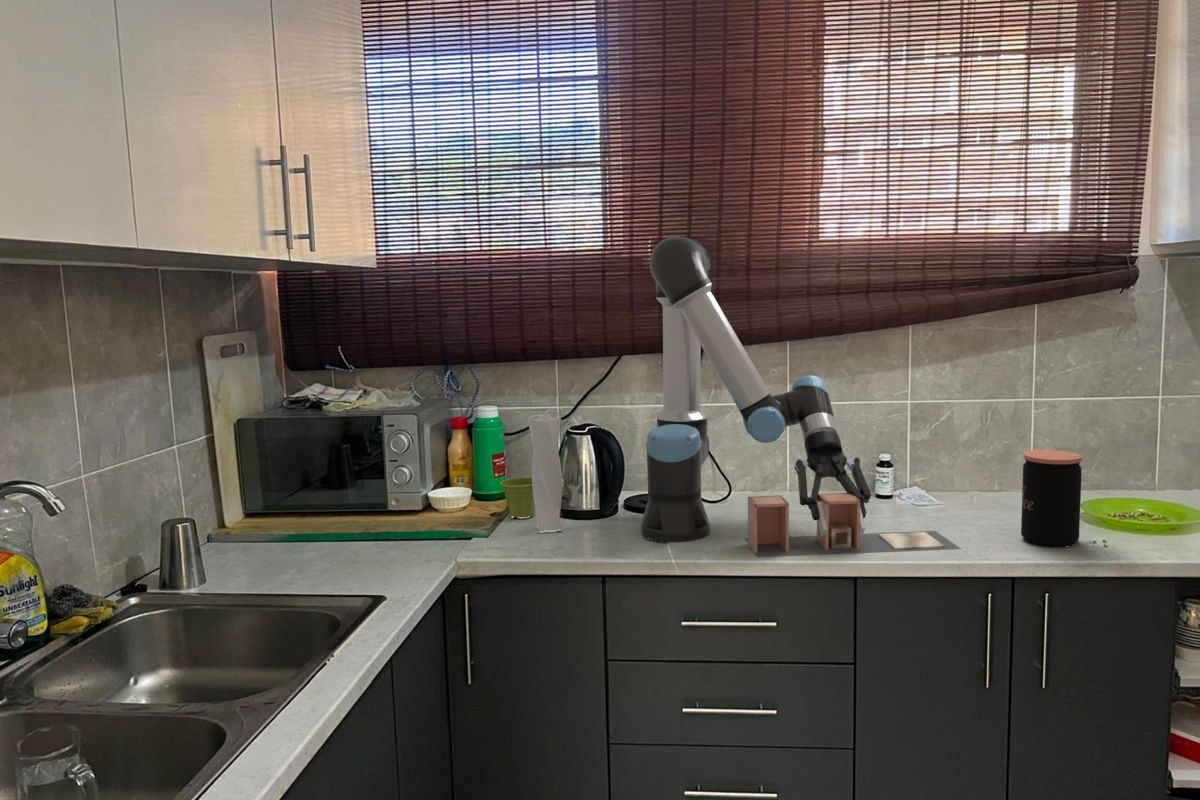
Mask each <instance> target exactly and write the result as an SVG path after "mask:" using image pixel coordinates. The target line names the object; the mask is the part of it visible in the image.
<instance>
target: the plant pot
mask: <svg viewBox="0 0 1200 800" xmlns="http://www.w3.org/2000/svg"><path fill="white" fill-rule="evenodd" d="M500 485H501V487H502V489H503V492H504V496H505V500H506V501H505V502H506V505H507V506H508V507H509V512H508V516H509V515H511V516H514V517H528V516H532V515H534V514H535V515H536V512H535V505H534V497H533V487H532V477H514V478H508V479H504V480H502V481H500ZM508 507H507V508H508ZM535 515H534V516H535ZM532 517H533V516H532Z"/></svg>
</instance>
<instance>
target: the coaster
mask: <svg viewBox="0 0 1200 800" xmlns="http://www.w3.org/2000/svg"><path fill="white" fill-rule="evenodd" d="M914 532H915V533H892V532H889V533H890V534H878V536H879V537H880V538H881V539H883V540H884V541H885V542H886V543H887V544H889V545H890V546H891V547H892V548H893V549H895V550H905V549H929V548H944V547H945V546H944V545H942V544H941V543H940V542H938V541H937V540H935V539H934V538H933V537H931V536H930V535H928V534H927V533H925V532H917V531H914Z"/></svg>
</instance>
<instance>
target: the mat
mask: <svg viewBox="0 0 1200 800" xmlns="http://www.w3.org/2000/svg"><path fill="white" fill-rule="evenodd" d="M915 532H925V533H927V534H928V535H930V536H931V537H933V538H934V539H935V540H937V541H938V542H940V543H941V544H942V545H944V546H945V547H944V548H929V549H905V550H895V549H893V548H892V547H891V546H890V545H889V544H887V543H886V542H885V541H884V540H883V539H881V538H880V537H879V536H878V534H890V533H915ZM744 541H746V543H747V544H748V537H746V538H744ZM943 550H945V551H948V550H962V548H961V547H959V546H958V545H956V544H955V543H954V542H952V541H951V540H949V539H948V538H947V537H945V536H944V535H942V534H940V533H939V532H938V531H936V530H921V531H918V530H917V531H895V532H894V531H893V532H873V533H872V532H871V533H867V532H866V533H863V535H860V549H857V548H856V547H855V546H854V545H853V544H852V543H851V547H849V548H831V547H830V546H829V550H825V549H824V548H823V547H822V546H821V544H820V543H819V542H818V541H817V535H796V536H789V552H786V551H785V550H784V549H783V547H782V546H781V545H780V543H771V544H757V553H754V555H755V556H756V557H757V558H772V557H773V558H774V557H778V558H779V557H799V556H800V557H801V556H803V557H804V556H821V555H822V556H823V555H827V556H828V555H845V554H846V555H851V554H869V553H871V554H874V553H896V552H918V551H919V552H920V551H923V552H925V551H943Z"/></svg>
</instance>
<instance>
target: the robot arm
mask: <svg viewBox="0 0 1200 800" xmlns="http://www.w3.org/2000/svg"><path fill="white" fill-rule="evenodd" d="M710 263H711V262H710V258H709V255H708V252H707V251H706V249H705V248H704V247H703V246H702V245H701V243H699V242H698V241H697V240H694V239H692V238H688V237H683V236H678V235H677V236H670V237H667V238H665V239H663V240H661V241H660V242H659V243H657V245H656V246H655V247H654V249H653V250H652V252H651V255H650V259H649V268H650V273H651V276H652V278H653V279H654V281H655V290H656V291H655V292H656V294H655V297H656V298H655V299H656V300H657V301H658V302H659V303H660V304H661V306H662V350H663V351H662V355H663V356H662V361H663V362H662V365H663V366H662V370H663V371H662V375H663V376H662V380H663V381H662V382H663V383H662V386H663V387H662V388H663V389H662V390H663V395H662V398H663V399H662V400H663V403H662V404H663V406H662V407H663V408H662V410H661V412H659V414H658V415H657V416H656V427H654V428H652V429H650V431H649V432H648V433H647V436H646V443H645V448H646V450H645V451H646V463H647V467H646V468H647V497H648V498H647V503H646V506H645V509H644V512H643V513H644V514H643V517H642V519H641V524H640V534H642V535H643V536H644V537H646V538H649V539H652V540H656V541H655V542H657V541H663V542H662V543H665V542H668V543H685V542H687V543H688V542H693V541H694V542H695V541H698V540H702V539H705V538H706V537H708V536H710V534H711V524H710V520H709V517H708V515H707V512H706V509H705V506H704V503H703V500H702V474H701V473H702V471H701V470H702V466H703V464H704V463H705V461H706V460H707V458H708V454H709V453H710V439H709V436H708V415H707V414H706V413H705V412H704V411H703V410H702V409H701V397H702V396H701V392H702V390H701V386H702V385H701V383H702V382H701V375H702V374H701V373H702V372H701V354H702V352H701V348H702V349H703V351H704V353H705V355H706V356H707V358H708V360H709V361H710V363H711V365H712V366H713V368H714V370H715V371H716V373H717V375H718V377H719V379H720V380H721V381H722V383H723V386H725V389H726V390H727V392H728V394H729V396H730V397H731V399H732V401H733V402H734V403H735V405H736V407H737V410H739V412H740V415H741V417H742V419H743V425H744V427H745V428H744V429H746V432H747V433H748V434H749V435H750V436H751V437H752V438H753V439H754V440H756V441H757V442H759V443H762V444H769V443H774V442H775V441H777V440H778V439H779V438H780V437H781V436H782V435H783V434H784V431H785V429H786V428H787V427H790V426H796V425H799V426H800V429H801V430H800V431H801V434H802V438H803V442H804V444H803V445H804V450H805V453H806V458H807V459H805V460H802V459H797V460H796V462H795V465H794V470H795V472H796V475H797V481H798V495H799V497H798V498H799V503H800V505H801V506H808V507H807V508H808V509H809V510H810V513H811V518H812V520H813V521H817V520H818V524H819V529H820V534H821V536H825V534H826V532H827V525H826V521H825V517H824V512H823V508H822V503H821V502H817V498H818V494H820V493H819V492H820V488H821V483H822V478H823V479H826V478H835V480H836V481H837V482H838V483H840V485H841V486H842V488H843V489H844V490H845V493H851V494H853V495H854V496H855V497H857V498H858V499H859V500H860V535H863V534H865V533H864V532H865V531H866V529H867V528H866V523H865V520H864V519H865V518H866V516H867V510H866V507H865V504H868V503H869V502H870V499H871V497H872V493H871V490H870V488H869V486H868V483H867V481H866V478H865V476H864V474H863V471H862V468H861V460H860V459H861V458H859V457H857V456H856V457H855V458H854V459H851V458H847V457H846V455H845V454H844V452H843V447H842V443H841V440H840V439H841V438H840V435H839V430H838V427H837V426H838V425H837V424H836V423H837V422H836V420H835V416H834V412H833V408H832V403H831V399H830V394H829V391H828V389H827V386H826V383H825V381H824V380H823V379H822V378H821V377H819V376H817V375H804V376H802V377H800V379H796V380H795V381H794V382H793V383H792V387H791V390H790V391H788V392H785V393H781V394H777V395H772V394H771V393H770V391H769V388H768V387H767V386H766V384H765V382H764V380H763V378H762V376H761V375H760V374H759V372H758V369H756V366H755V365H754V363H753V361H752V360H751V358H750V356H749V355H748V353H747V351H746V349H745V348H744V346H743V344H742V343H741V341H740V339H739V338H738V336H737V334H736V332H735V330H734V329H733V327H732V325H731V324H730V322H729V320H728V318H727V317H726V315H725V314H724V312H723V310H722V308H721V307H720V305H719V303H718V301H717V300H716V298H715V296H714V294H713V293H712V291H711V290H712V287H713V286H712V285H713V283H712V282H711V279H710V278H709V271H710V269H711V264H710ZM845 466H847V467H848V470H850V471H851V474H852V478H853V480H854V482H853V480H852V479H851V478H850V476H849V475H848V474H847V473H848V472H847V470H846V468H845ZM807 468H809V469H810V470H811V471H812V472H814V478H813V484H812V488H811V489H812V490H811V492H810V493H811V494H810V496H808V493H809V492H808V483H807V482H808V481H807ZM854 483H855V484H854ZM642 535H641V536H642ZM643 536H642V537H643ZM644 537H643V538H644ZM646 538H645V539H646ZM649 539H648V540H649ZM652 540H651V541H652Z"/></svg>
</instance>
